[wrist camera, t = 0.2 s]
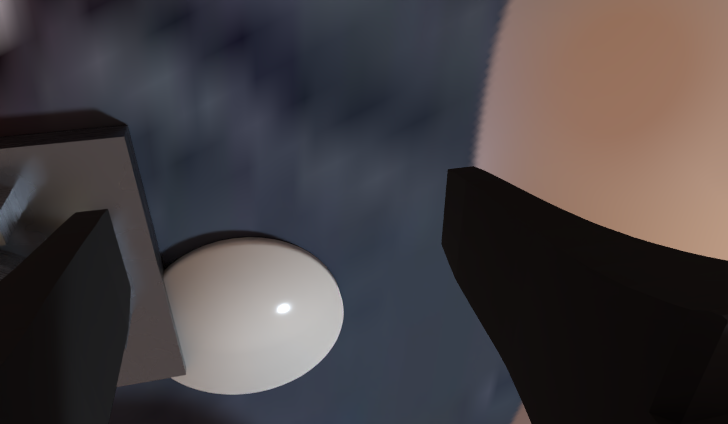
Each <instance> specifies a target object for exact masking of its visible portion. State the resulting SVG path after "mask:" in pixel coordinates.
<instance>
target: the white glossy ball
mask: <svg viewBox="0 0 728 424" xmlns="http://www.w3.org/2000/svg"><path fill="white" fill-rule="evenodd" d="M164 283H165V287H166V291H167V295H168V299H169V303H170V307H171V310H172V314H173V318H174V322H175V326H176V330H177V334H178V338H179V342H180V345H181V349H182V353H183V357H184V361H185V365H186V375H183V376H177V377H171V378H172V379H174V380H175V381H177V382H179V383H181V384H183V385H185V386H188V387H191V388H194V389H197V390H200V391H205V392H209V393H217V394H248V393H255V392H260V391H265V390H269V389H272V388H275V387H278V386H281V385H284V384H286V383H288V382H291V381H293V380H294V379H296V378H298V377H300V376H302V375H303V374H305V373H306V372H308V371H309V370H311V369H312V368H313V367H314V366H316V365H317V364H318V363H319V362H320V361H321V360H322V359H323V358H324V357H325V356H326V355H327V354H328V352H329V351H330V350H331V348H332V347H333V345H334V343H335V342H336V340H337V338H338V336H339V333H340V330H341V327H342V322H343V311H344V310H343V302H342V298H341V295H340V291H339V288H338V285H337V282H336V281H335V279H334V277H333V275H332V273H331V272H330V271H329V269H328V268H327V267H326V266H325V265H324V264H323V263H322V262H321V261H320V260H319V259H318V258H316V257H315V256H314V255H312V254H311V253H310V252H308V251H306V250H304V249H302V248H300V247H298V246H295V245H293V244H290V243H287V242H283V241H279V240H276V239H269V238H261V237H243V238H232V239H227V240H221V241H217V242H214V243H210V244H207V245H204V246H202V247H200V248H197V249H195V250H192V251H191V252H189V253H187V254H185V255H184V256H182V257H180V258H179V259H177V260H176V261H175V262H173V263H172V264H171V265H169V266H168V267H167V268H166V269H165V270H164Z"/></svg>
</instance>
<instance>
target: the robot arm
mask: <svg viewBox="0 0 728 424" xmlns="http://www.w3.org/2000/svg"><path fill="white" fill-rule="evenodd" d="M441 244H442V247H443V249H444V252H445V254H446V257H447V260H448V262H449V265H450V267H451V269H452V272H453V274H454V277H455V279H456V281H457V283H458V284H459V286H460V288H461V290H462V291H463V293H464V295H465V296H466V298H467V300H468V302H469V303H470V305H471V307H472V308H473V310H474V312H475V314H476V315H477V317H478V319H479V320H480V322H481V324H482V325H483V327H484V329H485V330H486V332H487V334H488V335H489V337H490V339H491V340H492V342H493V344H494V346H495V347H496V349H497V351H498V352H499V354H500V356H501V358H502V360H503V362H504V363H505V365H506V367H507V369H508V371H509V373H510V376H511V378H512V380H513V382H514V385H515V387H516V389H517V391H518V393H519V396H520V398H521V400H522V402H523V405H524V407H525V409H526V412H527V414H528V416H529V419H530V421H531V424H728V261H726V260H721V259H716V258H711V257H706V256H702V255H697V254H693V253H688V252H684V251H680V250H677V249H673V248H669V247H665V246H662V245H658V244H654V243H651V242H647V241H644V240H641V239H638V238H634V237H631V236H629V235H626V234H623V233H620V232H617V231H614V230H612V229H608V228H606V227H603V226H600V225H598V224H595V223H593V222H590V221H588V220H585V219H583V218H581V217H578V216H576V215H574V214H572V213H569V212H567V211H565V210H562V209H560V208H558V207H556V206H554V205H552V204H550V203H548V202H546V201H543V200H541V199H540V198H537V197H536V196H534V195H532V194H529V193H528V192H526V191H524V190H522V189H520V188H518V187H516V186H514V185H512V184H510V183H508V182H506V181H504V180H502V179H500V178H498V177H496V176H494V175H492V174H490V173H488V172H486V171H484V170H482V169H479V168H477V167H474V166H472V167H464V168H455V169H448V174H447V185H446V197H445V208H444V220H443V232H442V243H441ZM130 296H131V286H130V283H129V279H128V276H127V272H126V269H125V266H124V262H123V259H122V255H121V252H120V248H119V245H118V241H117V238H116V235H115V231H114V228H113V224H112V221H111V217H110V214H109V210H108V209H101V210H92V211H83V212H76V213H74V214H73V215H72V216H71V217H69V218H68V219H67V220H66V221H65V222H64V223H63V224H62V225H61V226H60V227H59V228H57V229H56V230H55V231H54V232H53V233H52V234H51V235H50V236H49V237H48V238H47V239H46V240H45V241H44V242H43V243H42V244H41V245H40V246H39V247H37V248H36V249H35V250H34V251H33V252H32V253H31V254H30V255H29V256H28V257H27V258H26V259H25V260H23V261H22V262H21V263H20V264H19V265H18V266H17V267H16V268H15V269H14V270H12V271H11V272H10V273H9V274H8V275H7V276H5V277H4V278H3V279H2V280H1V281H0V424H108V423H109V419H110V414H111V409H112V405H113V400H114V396H115V391H116V386H117V382H118V377H119V373H120V368H121V363H122V358H123V354H124V349H125V344H126V339H127V334H128V328H129V315H130Z"/></svg>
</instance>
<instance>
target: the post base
mask: <svg viewBox="0 0 728 424" xmlns="http://www.w3.org/2000/svg"><path fill="white" fill-rule="evenodd" d="M101 209H108V210H109V214H110V217H111V221H112V224H113V228H114V231H115V235H116V238H117V241H118V245H119V248H120V252H121V255H122V259H123V262H124V266H125V269H126V272H127V276H128V279H129V283H130V286H131V296H130V315H129V328H128V334H127V339H126V344H125V349H124V354H123V358H122V363H121V368H120V373H119V377H118V382H117V386H116V387H120V386H126V385H131V384H137V383H143V382H148V381H154V380H160V379H165V378H171V377H177V376H183V375H186V365H185V361H184V357H183V353H182V349H181V345H180V342H179V338H178V334H177V330H176V326H175V322H174V318H173V314H172V310H171V307H170V303H169V299H168V295H167V291H166V287H165V283H164V267H163V263H162V259H161V255H160V251H159V247H158V243H157V239H156V235H155V231H154V227H153V223H152V220H151V216H150V212H149V208H148V204H147V200H146V196H145V192H144V188H143V184H142V180H141V176H140V172H139V168H138V164H137V160H136V156H135V152H134V148H133V145H132V141H131V137H130V133H129V129H128V125H122V126H112V127H101V128H91V129H80V130H70V131H59V132H49V133H38V134H28V135H17V136H7V137H0V281H1V280H2V279H3V278H4V277H5V276H7V275H8V274H9V273H10V272H11V271H12V270H14V269H15V268H16V267H17V266H18V265H19V264H20V263H21V262H22V261H23V260H25V259H26V258H27V257H28V256H29V255H30V254H31V253H32V252H33V251H34V250H35V249H36V248H37V247H39V246H40V245H41V244H42V243H43V242H44V241H45V240H46V239H47V238H48V237H49V236H50V235H51V234H52V233H53V232H54V231H55V230H56V229H57V228H59V227H60V226H61V225H62V224H63V223H64V222H65V221H66V220H67V219H68V218H69V217H71V216H72V215H73V214H74V213H76V212H83V211H92V210H101Z"/></svg>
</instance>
